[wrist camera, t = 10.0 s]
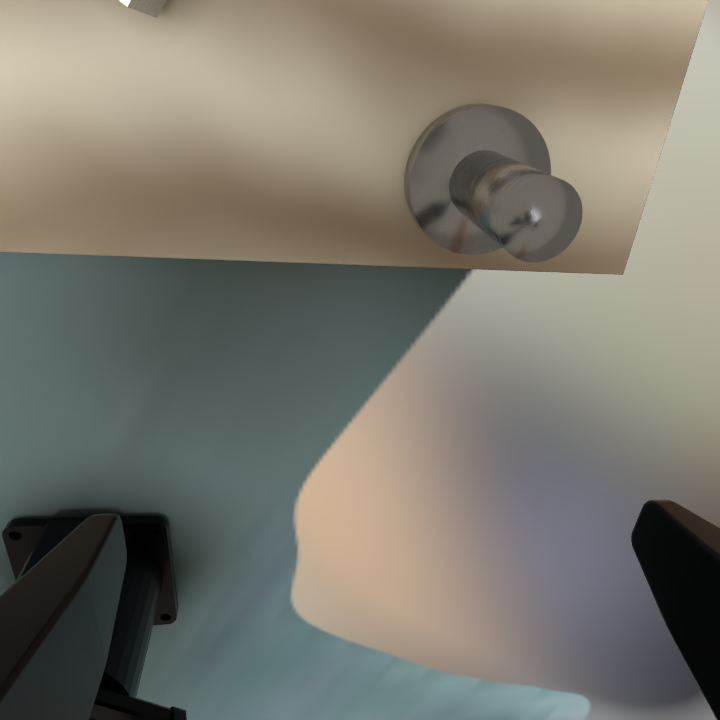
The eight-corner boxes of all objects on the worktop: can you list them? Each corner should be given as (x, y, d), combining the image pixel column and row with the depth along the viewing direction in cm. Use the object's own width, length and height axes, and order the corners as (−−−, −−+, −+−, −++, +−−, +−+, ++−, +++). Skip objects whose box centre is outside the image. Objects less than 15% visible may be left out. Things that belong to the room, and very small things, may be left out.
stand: (522, 248, 19) (602, 310, 14) (396, 243, 18) (436, 306, 14) (552, 109, 17) (658, 126, 12) (412, 97, 16) (466, 111, 12)
